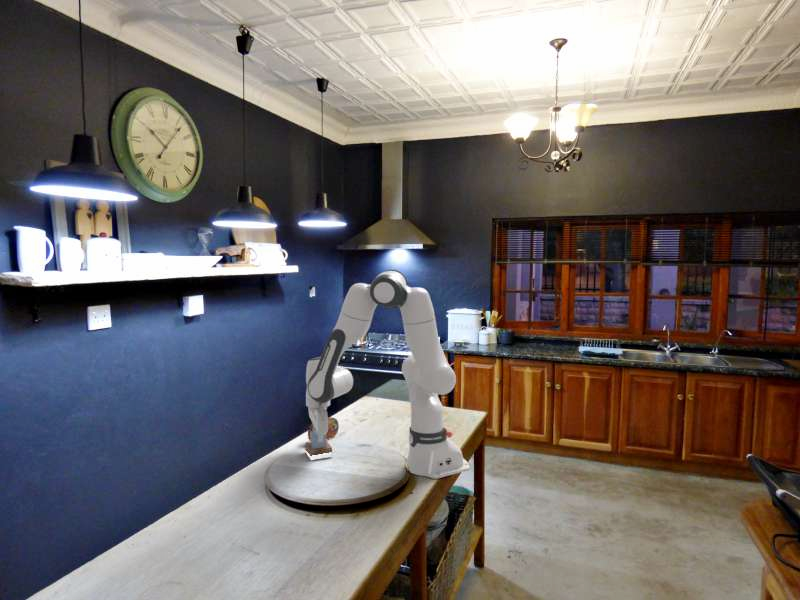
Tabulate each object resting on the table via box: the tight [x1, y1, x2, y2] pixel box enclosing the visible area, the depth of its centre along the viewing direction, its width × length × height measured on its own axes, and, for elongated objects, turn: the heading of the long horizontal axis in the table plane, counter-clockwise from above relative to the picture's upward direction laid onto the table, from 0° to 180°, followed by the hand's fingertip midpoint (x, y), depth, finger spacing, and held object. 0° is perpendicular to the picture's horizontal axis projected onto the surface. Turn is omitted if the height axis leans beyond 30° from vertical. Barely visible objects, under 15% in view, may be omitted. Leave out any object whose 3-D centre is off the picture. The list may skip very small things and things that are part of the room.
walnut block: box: [304, 440, 333, 456], centre depth 179 cm, size 8×8×4 cm
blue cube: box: [309, 430, 327, 449], centre depth 179 cm, size 5×5×5 cm
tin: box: [307, 417, 340, 441], centre depth 194 cm, size 15×3×8 cm, turn 143°
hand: (318, 437), depth 179 cm, fingers open, 8 cm apart
